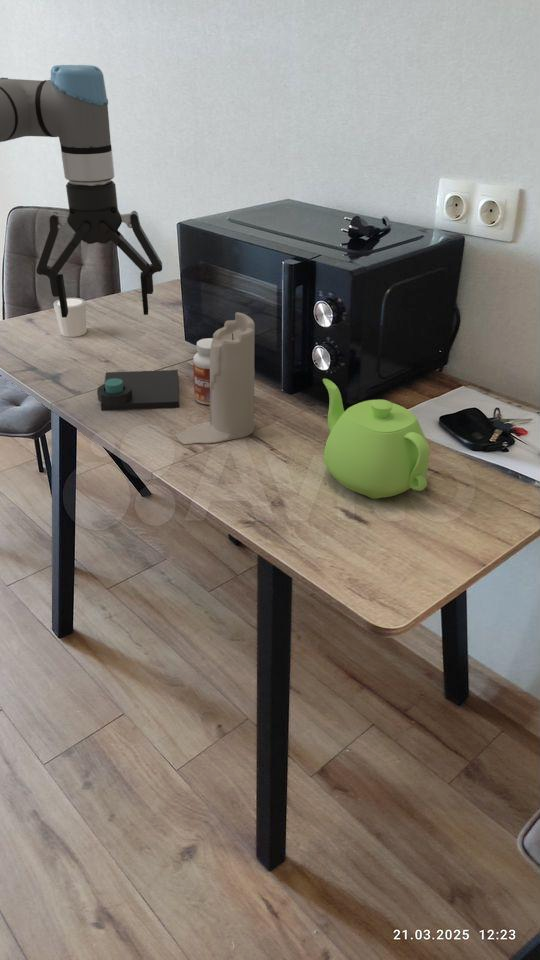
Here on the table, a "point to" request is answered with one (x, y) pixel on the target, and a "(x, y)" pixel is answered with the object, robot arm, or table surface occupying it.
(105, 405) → the scale
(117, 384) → the button
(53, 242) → the robot arm
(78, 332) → the white cup
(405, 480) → the teapot
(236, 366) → the candle
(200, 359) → the pill bottle
